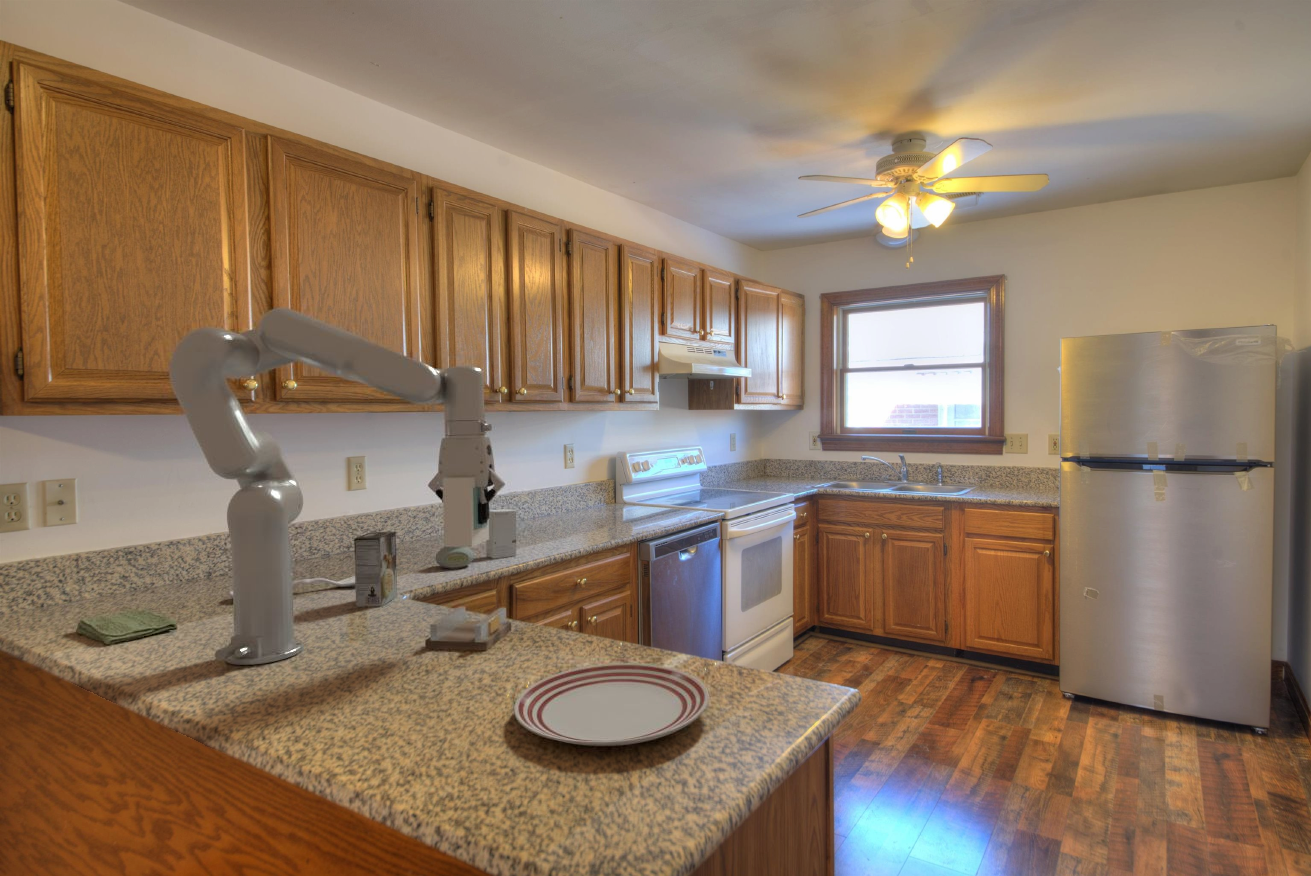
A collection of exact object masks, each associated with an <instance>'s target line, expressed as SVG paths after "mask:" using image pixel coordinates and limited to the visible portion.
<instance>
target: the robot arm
mask: <svg viewBox="0 0 1311 876" xmlns="http://www.w3.org/2000/svg"><path fill="white" fill-rule="evenodd" d="M295 362H300V363H303V364H305V365H307V366H310V367H313V368H316V369H319V370H320V371H323V372H326V373H328V374H329V375H330V374H331V375H333V376H335V377H339V378H342V379H344V380H345V381H346V380H347V381H351V382H352V381H353V382H357V383H360V384H363V385H365V386H369V387H371V388H374V389H377V390H378V391H382V392H383V393H385V394H386V393H387V394H389V395H392V396H394V397H397V398H399V399H401V400H404V401H407V402H408V403H409V402H410V403H412V404H416V405H419V406H429V405H430V406H431V405H437V404H443V405H444V407H443V410H444V437H442V438H441V441H440V447H439V455H438V463H437V465H438V467H437V468H438V469H437V473H436V474H435V475H434V477H433V478H432V479H431V480H430V482H428V484H427V487H428V488H429V489H430V490H431V491H432V492H434V494H435V495H436V496H437V497H438V498H439V499H440V501H441V502H442V504H443V478H446V477H475V488H477V489H478V497H479V499H480V503H479V504H478V524H484V523H487V521H488V519H489V510H490V502H491V501H492V499H494V497H495V496H496V495H498V493H499V492H500V491H501V490H502V489H503V488H504V487H505V486H506V483H505V482H504V481H503V479H501V477H500V476H499V475H498V474H497V473H496V472H495V471H496V470H495V469H496V468H495V461H494V454H493V453H494V452H493V448H492V442H491V439H490V436H487V437H486V434H487V432H491V431H492V424H491V423H486V421H487V420H485V419H486V418H485V413H486V412H485V377H484V376H485V375H484V372H483V370H482V369H481V368H480V367H477V366H472V365H471V366H470V365H460V366H458V365H457V366H456V365H455V366H454V365H453V366H450V367H447V368H446V369H445V368H434V367H433V366H431V365H429V364H427V363H425V362H423V361H420V360H417V359H414V358H412V357H409V356H407V355H404V354H402V353H400V352H397V351H394V350H392V349H389V348H386V347H384V346H382V345H379V344H376V343H374V342H372V341H370V340H368V339H367V338H364V337H363V336H360V335H359V334H355V333H353V332H350V331H347V330H345V329H342V328H340V327H337V326H335V325H332V324H329V323H327V322H326V321H323V320H320V319H317V318H315V317H313V316H310V315H308V314H305V313H302V312H300V311H298V310H295V309H291V308H287V307H277V308H273V309H271V310H269V311H267V312H265V313H264V315H263V316H262V317H261V319H260V321H259V323H258V327H256V328H252V329H249V330H246V331H242V332H240V333H237V332H234V331H231V330H228V329H225V328H222V327H215V326H207V327H201V328H197V329H195V330H193V331H192V332H189V333H187V335H185V336H184V337H183V338H182V339H181V340H180V341H179V343H178V344H177V345H176V346H175V348H174V350H173V352H172V354H171V357H170V361H169V366H168V367H169V369H168V373H169V380H170V385H171V388H172V391H173V393H174V395H175V397H176V399H177V402H178V404H179V406H180V407H181V410H182V411H183V413H184V415H185V417H186V419H187V421H188V424H189V425H190V428H191V431H192V433H193V435H194V436H195V439H196V441H197V442H198V444H199V447H200V449H201V451H202V453H203V455H204V458H205V459H206V462H207V464H208V465H209V468H210V469H211V470H212V471H213V473H214V474H215V475H217V476H219V477H221V478H223V479H226V480H236V481H237V483H238V486H239V487H240V489H238V490H237V491H236V492H235V493H234V494H233V496H232V497H231V499H230V500H229V503H228V505H227V506H228V507H227V511H226V522H227V528H228V534H229V539H230V540H229V541H230V546H231V548H230V549H231V567H232V569H231V570H232V591H233V597H232V600H233V603H232V604H233V607H232V609H233V635H231V637H230V642H229V644H228V645H227V646H223V647H221V648H218V649H217V650H216V651H215V653H214V657H215V659H216V660H218V661H223V660H224V661H225V662H226V663H228V664H231V665H235V666H236V665H237V666H238V665H239V666H243V665H244V666H249V665H250V666H251V665H252V666H253V665H262V664H268V663H274V662H278V661H282V660H284V659H288V658H291V657H294V656H295V655H298V654H299V653H301V651H303V650H304V641H303V640H301V639H298V638H295V630H294V625H295V624H294V588H293V587H294V586H293V582H294V581H293V579H294V578H293V575H294V574H293V554H292V553H293V552H292V543H291V537H290V531H289V524H291V523H293V522H294V521H296V519H297V518H299V516H300V514H301V513H302V511H303V507H304V497H303V494H302V490H301V488H300V485H299V483H298V481H297V479H296V477H295V475H294V474H293V473H294V472H293V471H292V469H291V468H290V465H289V463H288V461H287V458H286V457H285V455H284V453H283V451H282V448H281V447H280V445H279V443H278V442H277V441H276V440H275V438H274V437H273V436H272V435H271V434H270V433H268V432H267V431H264V430H262V429H260V428H257V427H252V424H251V423H250V422H249V420H248V418H247V416H246V415H245V413H244V411H243V408H242V406H241V404H240V402H239V400H238V398H237V396H236V395H235V393H234V392H233V390H232V389H231V388H230V386H229V383H228V380H227V379H233V380H234V379H235V380H238V379H245V378H246V379H247V378H249V377H254V376H257V375H259V374H262V373H266V372H269V371H271V370H275V369H278V368H280V367H284V366H287V365H289V364H292V363H295ZM487 487H488V488H487ZM489 487H492V488H490V489H489Z"/></svg>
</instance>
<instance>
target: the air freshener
mask: <svg viewBox="0 0 1311 876" xmlns="http://www.w3.org/2000/svg"><path fill="white" fill-rule="evenodd" d="M434 557H435V558H434V560H435V561H436V564H437V565H439V566H441V567H442V568H445V569H448V570H449V569H450V570H458V569H462V568H465V567H467V566H468V565H470V564H471V563H472V562H473V560H474V557H475V553H474V551H473V550H472V549H471V548H470V547H444V546H443V548H441V549H440V550H438V551H437V552H436V553H435V556H434Z"/></svg>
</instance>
